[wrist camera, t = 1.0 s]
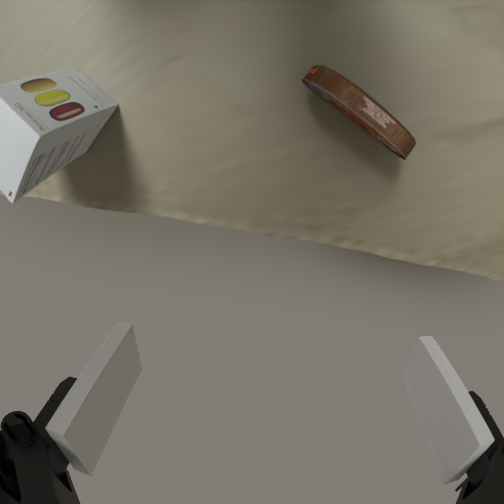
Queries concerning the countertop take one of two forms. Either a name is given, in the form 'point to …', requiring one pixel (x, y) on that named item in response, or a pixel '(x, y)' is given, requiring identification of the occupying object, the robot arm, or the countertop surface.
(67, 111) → the supplement box
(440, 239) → the countertop surface
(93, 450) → the robot arm
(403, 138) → the tin
